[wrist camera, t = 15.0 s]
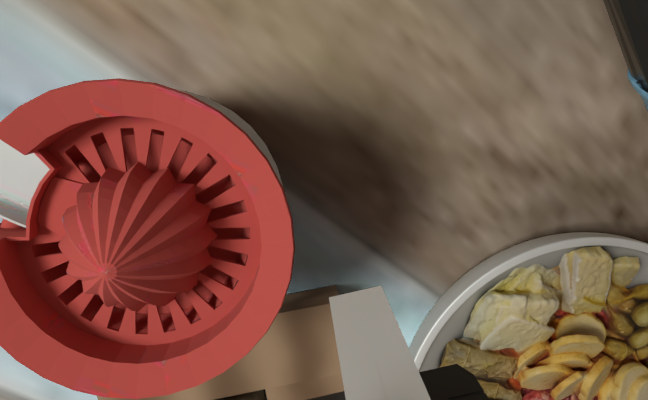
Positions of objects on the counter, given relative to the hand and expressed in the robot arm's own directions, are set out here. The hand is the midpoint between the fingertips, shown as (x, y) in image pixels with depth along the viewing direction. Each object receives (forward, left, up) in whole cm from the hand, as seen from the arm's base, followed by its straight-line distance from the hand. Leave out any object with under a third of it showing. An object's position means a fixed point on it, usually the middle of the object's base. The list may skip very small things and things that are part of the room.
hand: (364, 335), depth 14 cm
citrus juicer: (+10, -2, -27) cm, 29 cm away
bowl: (-19, +22, -28) cm, 40 cm away
